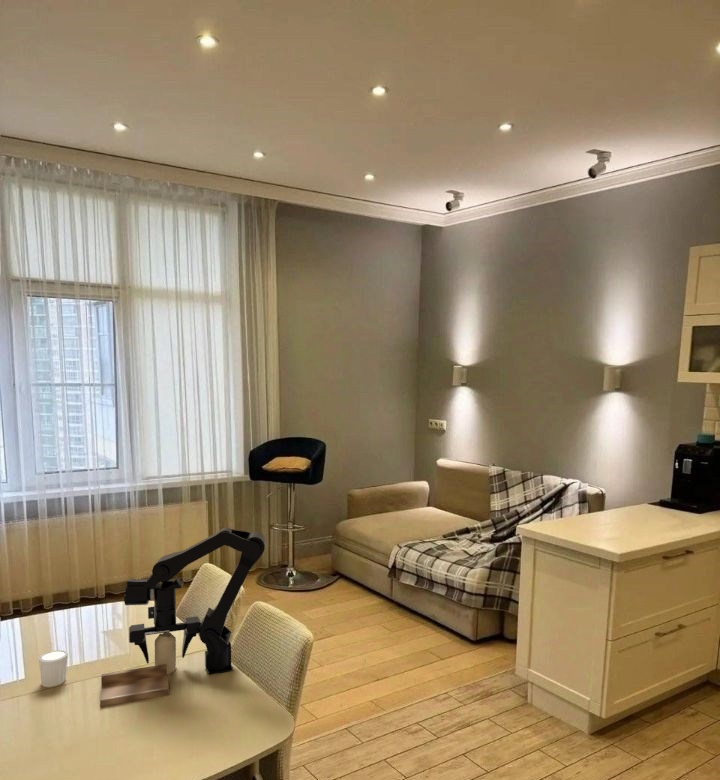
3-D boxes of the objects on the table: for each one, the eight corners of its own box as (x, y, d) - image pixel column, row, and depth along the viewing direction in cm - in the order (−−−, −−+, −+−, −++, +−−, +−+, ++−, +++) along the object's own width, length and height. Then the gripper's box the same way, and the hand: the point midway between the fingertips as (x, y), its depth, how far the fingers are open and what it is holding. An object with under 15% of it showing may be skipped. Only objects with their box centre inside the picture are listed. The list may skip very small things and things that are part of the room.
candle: (169, 675, 164) (169, 639, 164) (150, 673, 165) (150, 637, 165) (179, 666, 169) (179, 630, 169) (161, 664, 170) (161, 629, 170)
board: (166, 678, 162) (166, 663, 162) (168, 694, 154) (168, 679, 154) (101, 689, 157) (101, 674, 157) (100, 706, 148) (100, 690, 148)
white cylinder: (38, 690, 156) (38, 663, 156) (39, 678, 162) (38, 652, 162) (68, 684, 159) (68, 657, 159) (67, 673, 165) (67, 647, 165)
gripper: (197, 590, 178) (197, 643, 178) (128, 598, 171) (129, 653, 171) (201, 602, 167) (201, 659, 168) (129, 612, 161) (129, 670, 161)
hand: (165, 660), depth 167 cm, fingers open, 9 cm apart
